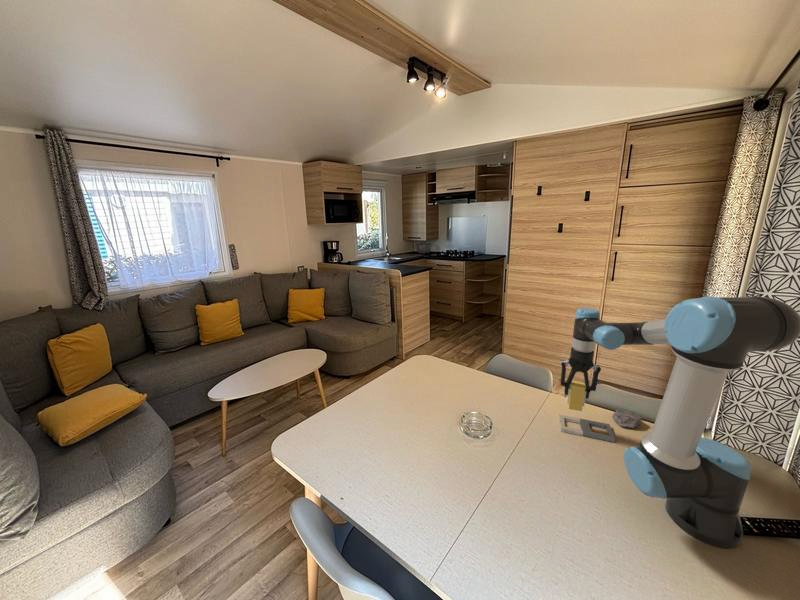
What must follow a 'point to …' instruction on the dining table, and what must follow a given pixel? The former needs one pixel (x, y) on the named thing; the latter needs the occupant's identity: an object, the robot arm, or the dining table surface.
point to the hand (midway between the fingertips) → (575, 403)
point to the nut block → (576, 395)
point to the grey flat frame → (586, 428)
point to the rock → (626, 418)
